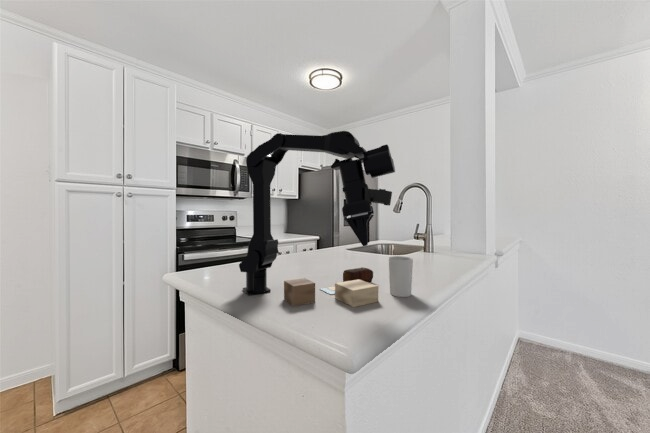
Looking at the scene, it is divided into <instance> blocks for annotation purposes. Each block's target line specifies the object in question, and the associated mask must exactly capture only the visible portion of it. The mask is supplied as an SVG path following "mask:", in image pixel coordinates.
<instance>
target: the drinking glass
mask: <svg viewBox="0 0 650 433" xmlns="http://www.w3.org/2000/svg"><path fill="white" fill-rule="evenodd" d="M413 266H414V257H413V258H412V257H410V256H400V255H399V256H398V255H397V256H396V255H393V256H388V274H389V275H388V278H389V294H390V295H392V296H394V297H397V298H398V297H399V298H408V297H411V296H412V288H413V287H412V285H413V284H412V283H413V271H414V270H413Z"/></svg>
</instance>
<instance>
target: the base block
mask: <svg viewBox="0 0 650 433" xmlns="http://www.w3.org/2000/svg"><path fill="white" fill-rule="evenodd" d="M334 286H335V294H334V298H335V299H336V300H338V301H340V302H342V303H344V304H346V305H348V306H350V307H352V308H356V307H360V306H364V305H369V304H373V303H377V302H379V285H377V284H373V283H372V282H370V283H368V282H365V281H362V280H359V279H358V280H352V281H345V282H343V281H340V282H335V283H334Z"/></svg>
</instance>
